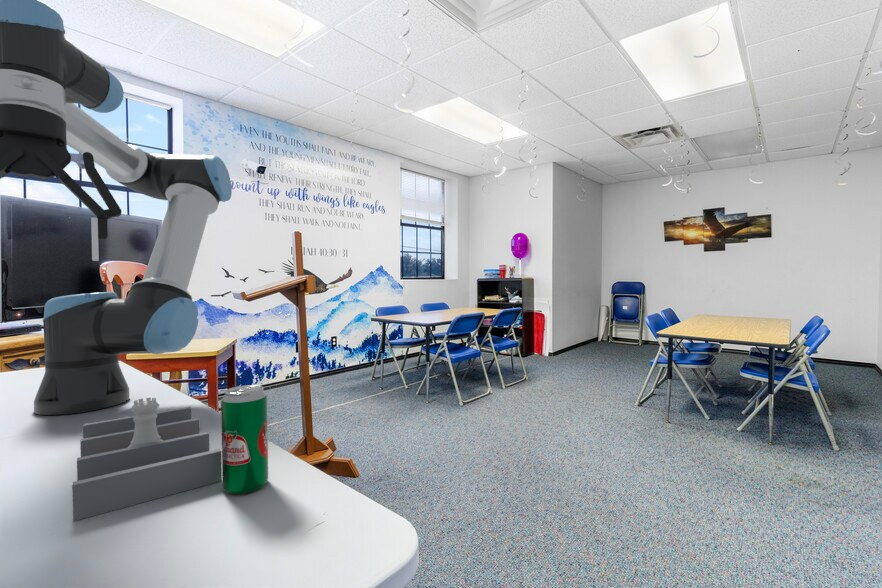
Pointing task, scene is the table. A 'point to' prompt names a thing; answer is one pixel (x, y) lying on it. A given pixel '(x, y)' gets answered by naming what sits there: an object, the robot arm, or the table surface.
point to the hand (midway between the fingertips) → (34, 259)
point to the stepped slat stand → (141, 463)
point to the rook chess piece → (145, 422)
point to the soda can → (244, 439)
